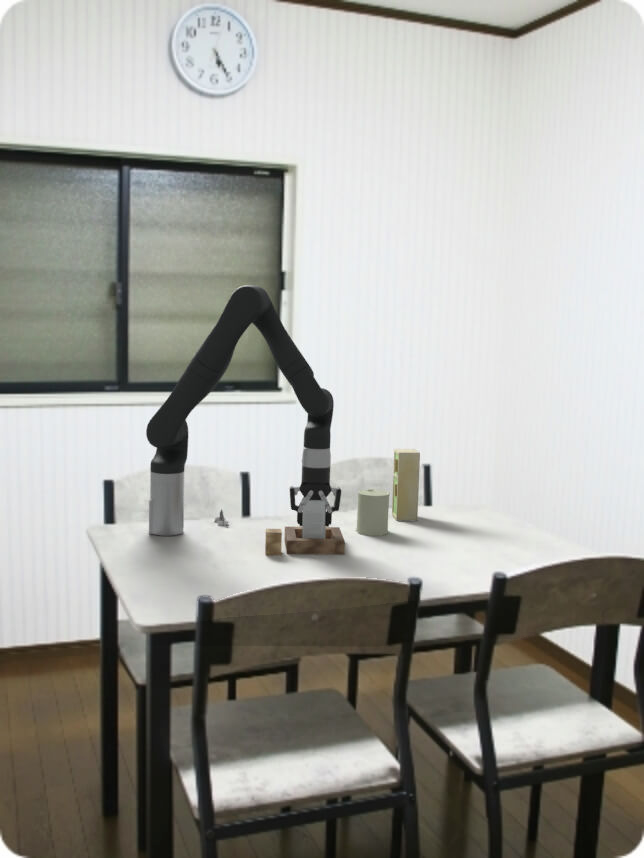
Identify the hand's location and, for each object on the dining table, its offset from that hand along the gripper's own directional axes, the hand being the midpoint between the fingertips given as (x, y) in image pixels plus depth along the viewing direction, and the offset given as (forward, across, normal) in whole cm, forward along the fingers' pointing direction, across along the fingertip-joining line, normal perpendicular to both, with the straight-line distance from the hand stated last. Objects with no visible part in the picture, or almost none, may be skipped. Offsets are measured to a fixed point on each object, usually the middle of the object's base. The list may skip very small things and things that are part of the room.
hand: (314, 525), depth 246 cm
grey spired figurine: (+6, -24, +20) cm, 32 cm away
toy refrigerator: (+6, +30, +35) cm, 46 cm away
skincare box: (+5, 0, 0) cm, 5 cm away
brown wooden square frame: (+6, 0, 0) cm, 6 cm away
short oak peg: (+6, -11, -7) cm, 14 cm away
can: (+6, +18, +17) cm, 25 cm away
